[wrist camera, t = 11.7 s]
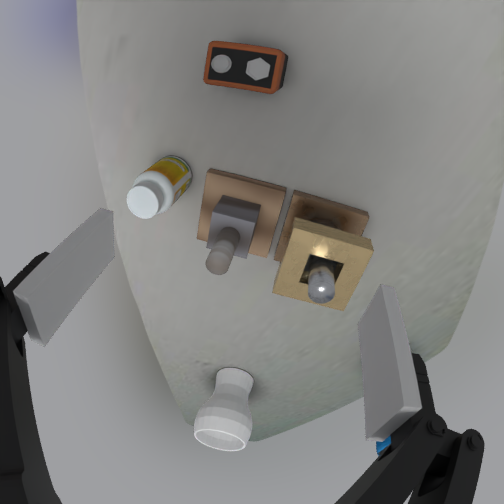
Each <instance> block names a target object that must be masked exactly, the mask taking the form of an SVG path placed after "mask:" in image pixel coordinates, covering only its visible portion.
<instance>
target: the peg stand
mask: <svg viewBox="0 0 504 504" xmlns="http://www.w3.org/2000/svg"><path fill="white" fill-rule="evenodd" d="M295 217H297V218H300V219H304V220H307V221H311V222H314V223H318V224H321V225H325V226H328V227H331V228H335V229H338V230H342V231H345V232H348V233H352V234H355V235H358V236H362V233H363V231H364V229H365V226H366V224H367V222H368V219H369V215H368V212H366V211H362V210H359V209H356V208H353V207H350V206H347V205H343V204H340V203H337V202H333V201H330V200H327V199H323V198H320V197H317V196H313V195H310V194H306V193H303V192H299V191H296V190H294V192H293V196H292V199H291V202H290V206H289V209H288V212H287V216H286V219H285V222H284V226H283V229H282V232H281V236H280V239H279V242H278V245H277V249H276V252H275V256H274V260H276V261H280V262H281V259H282V256H283V253H284V250H285V246H286V243H287V240H288V237H289V234H290V231H291V228H292V225H293V221H294V218H295ZM337 264H338V262H337V261H334V260H330V259H326V258H323V257H319V256H316V255H312V254H310V255H309V257H308V260H307V263H306V265H305V268H304V271H307V272H309V277H308V296H309V298H310V299H311V300H312V301H313V302H315V303H319V304H323V303H327V302H329V301H331V300H332V299H333V298H334V296H335V284H334V270H335V268H336V266H337Z"/></svg>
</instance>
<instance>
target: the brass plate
mask: <svg viewBox="0 0 504 504" xmlns="http://www.w3.org/2000/svg"><path fill="white" fill-rule="evenodd" d="M373 252H374V250H373V246H372V243H371V239H368V238H365V237H362V236H358V235H355V234H352V233H348V232H345V231H342V230H338V229H335V228H331V227H328V226H325V225H321V224H318V223H314V222H311V221H307V220H304V219H300V218H297V217H295V218H294V221H293V225H292V228H291V231H290V234H289V237H288V240H287V243H286V246H285V250H284V253H283V256H282V259H281V262H280V265H279V268H278V271H277V274H276V277H275V280H274V286H273V292H272V293H275V294H279V295H283V296H286V297H290V298H294V299H298V300H302V301H306V302H310V303H313V304H317V305H321V306H325V307H329V308H333V309H337V310H341V311H344V309H345V307H346V306H347V304H348V302H349V300H350V298H351V296H352V294H353V292H354V290H355V288H356V286H357V284H358V282H359V280H360V278H361V276H362V274H363V272H364V270H365V268H366V266H367V264H368V262H369V260H370V258H371V256H372V254H373ZM310 254H312V255H316V256H319V257H323V258H326V259H330V260H334V261H337V262H338V264H337V266H336V268H335V270H334V284H335V296H334V298H333V299H332V300H331V301H329V302H327V303H323V304H319V303H315V302H313V301H312V300H311V299H310V298H309V296H308V277H309V272H307V271H304V268H305V265H306V263H307V260H308V257H309V255H310Z"/></svg>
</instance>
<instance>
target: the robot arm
mask: <svg viewBox="0 0 504 504" xmlns="http://www.w3.org/2000/svg"><path fill="white" fill-rule="evenodd" d="M114 257H115V256H114V226H113V211H110V210H106V209H103V208H100V209H99V210H97V211H96V212H95V213H94V214H93V215H92V216H90V217H89V218H88V219H87V220H86V221H85V222H84V223H83V224H82V225H80V226H79V227H78V228H77V229H76V230H75V231H74V232H73V233H71V234H70V235H69V236H68V237H67V238H66V239H65V240H64V241H63V242H62V243H61V244H60V245H58V246H57V247H56V248H55V249H54V250H53V251H52V252H51V253H48V252H44V253H42V254H40V255H38V256H36V257H35V258H34V259H33V260H32V261H31V262H30V263H29V264H28V265H26V267H25V268H23V271H20V272H19V273H18V274H17V275H16V276H15V277H14V278H13V280H12V281H11V282H10V283H9V284H8V285H7V286H6V287H4V284H3V281H2V278H1V277H0V504H62V503H61V501H60V499H59V497H58V496H57V494H56V493H55V490H54V488H53V485H52V482H51V479H50V476H49V472H48V469H47V466H46V462H45V459H44V454H43V451H42V447H41V443H40V438H39V434H38V429H37V425H36V420H35V415H34V410H33V404H32V398H31V391H30V385H29V377H28V370H27V360H26V349H25V341H24V337H23V336H24V335H25V333H26V332H27V331H28V334H29V335H30V339H31V340H32V341H34V342H36V343H38V344H40V345H41V346H43V347H45V346H46V344H47V343H48V342H49V340H50V339H51V337H52V336H53V335H54V333H55V332H56V330H57V329H58V328H59V327H60V325H61V324H62V322H63V321H64V320H65V318H66V317H67V316H68V314H69V313H70V312H71V311H72V309H73V308H74V307H75V305H76V304H77V303H78V301H79V300H80V299H81V298H82V296H83V295H84V294H85V292H86V291H87V290H88V289H89V287H90V286H91V285H92V284H93V283H94V281H95V280H96V279H97V278H98V276H99V275H100V274H101V273H102V271H103V270H104V269H105V268H106V267H107V266H108V264H109V263H110V262H111V261H112V260H113V258H114ZM358 332H359V341H360V352H361V363H362V375H363V390H364V406H365V429H366V440H368V441H381V442H383V441H384V440H385V439H386V438H388V437H389V436H390V437H391V444H389V445H388V446H387V447H385V448H384V449H383V450H381V451H380V452H379V453H377V454H378V455H379V457H378V458H377V459H376V460H375V461H374V462H373V464H372V465H371V466H370V467H369V468H368V469H367V470H366V471H365V473H364V474H363V475H362V476H361V477H360V478H359V479H358V480H357V481H356V482H355V483H354V485H353V486H352V487H351V488H350V489H349V490H348V491H347V492H346V493H345V494H344V495H343V496H342V497H341V498H340V499H339V500H338V501H337V502H336V503H335V504H403V503H404V502H405V500H406V499H407V498H408V496H409V495H410V494H411V492H412V491H413V492H412V495H411V497H410V500H409V502H408V504H472V502H473V498H474V494H475V490H476V486H477V482H478V478H479V473H480V468H481V463H482V458H483V452H484V440H483V438H482V436H481V435H480V433H479V432H478V431H476V430H474V429H468V430H466V431H465V432H464V433H463V434H460V433H457V432H454V431H452V430H450V429H448V428H447V425H446V423H445V421H444V420H443V418H442V417H440V416H439V415H438V414H436V412H435V408H434V402H433V398H432V392H431V388H430V385H429V379H428V376H427V370H426V366H425V363H424V361H423V360H422V358H421V356H420V355H419V354H414V353H411V350H410V346H409V341H408V337H407V333H406V329H405V325H404V321H403V317H402V313H401V309H400V306H399V302H398V298H397V295H396V291H395V288H394V287H391V286H387V285H383V284H380V286H379V288H378V290H377V291H376V293H375V295H374V297H373V299H372V300H371V302H370V304H369V306H368V307H367V309H366V311H365V313H364V314H363V316H362V318H361V319H360V321H359V323H358ZM413 489H414V490H413Z"/></svg>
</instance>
